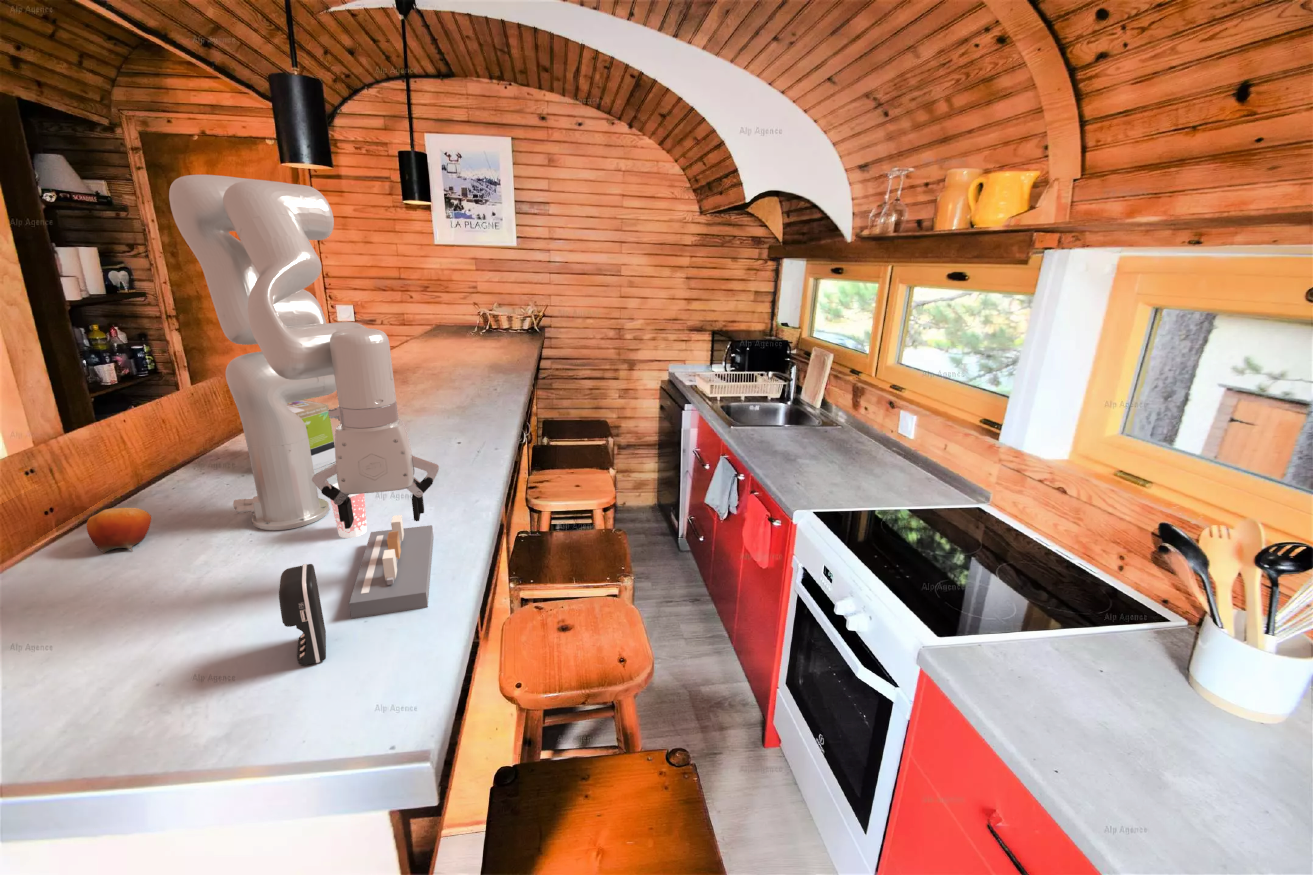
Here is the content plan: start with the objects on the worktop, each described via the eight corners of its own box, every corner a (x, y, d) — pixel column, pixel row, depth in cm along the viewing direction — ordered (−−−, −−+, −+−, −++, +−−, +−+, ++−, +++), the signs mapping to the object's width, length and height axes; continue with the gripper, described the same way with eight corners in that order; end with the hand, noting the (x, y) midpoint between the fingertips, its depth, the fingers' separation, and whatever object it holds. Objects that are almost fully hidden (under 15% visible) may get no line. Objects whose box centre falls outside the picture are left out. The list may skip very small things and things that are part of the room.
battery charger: (293, 639, 76) (278, 564, 73) (326, 631, 78) (312, 557, 74) (291, 672, 70) (274, 592, 67) (326, 662, 72) (312, 584, 69)
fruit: (78, 558, 91) (75, 508, 93) (100, 560, 98) (97, 514, 100) (143, 547, 95) (140, 500, 96) (160, 551, 102) (157, 506, 103)
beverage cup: (378, 525, 108) (368, 455, 103) (359, 541, 102) (348, 467, 97) (347, 523, 108) (336, 453, 104) (326, 538, 102) (314, 465, 98)
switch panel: (351, 618, 81) (349, 602, 80) (372, 544, 101) (370, 531, 100) (427, 606, 84) (425, 591, 83) (433, 537, 104) (432, 524, 103)
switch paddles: (385, 585, 84) (381, 561, 83) (395, 535, 98) (393, 514, 97) (395, 583, 84) (392, 559, 83) (404, 534, 99) (402, 513, 98)
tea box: (255, 465, 135) (242, 404, 130) (295, 452, 143) (284, 394, 139) (300, 475, 129) (289, 412, 125) (339, 461, 138) (329, 402, 134)
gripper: (295, 426, 78) (315, 539, 83) (431, 418, 83) (442, 525, 88) (308, 411, 85) (326, 517, 90) (434, 405, 90) (444, 505, 95)
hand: (384, 521), depth 89 cm, fingers open, 9 cm apart
